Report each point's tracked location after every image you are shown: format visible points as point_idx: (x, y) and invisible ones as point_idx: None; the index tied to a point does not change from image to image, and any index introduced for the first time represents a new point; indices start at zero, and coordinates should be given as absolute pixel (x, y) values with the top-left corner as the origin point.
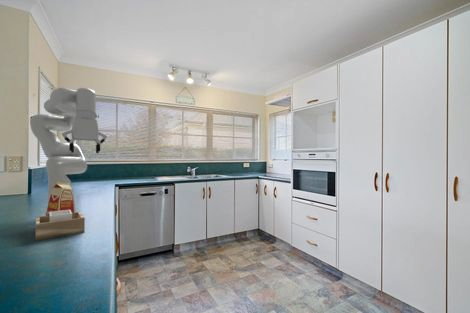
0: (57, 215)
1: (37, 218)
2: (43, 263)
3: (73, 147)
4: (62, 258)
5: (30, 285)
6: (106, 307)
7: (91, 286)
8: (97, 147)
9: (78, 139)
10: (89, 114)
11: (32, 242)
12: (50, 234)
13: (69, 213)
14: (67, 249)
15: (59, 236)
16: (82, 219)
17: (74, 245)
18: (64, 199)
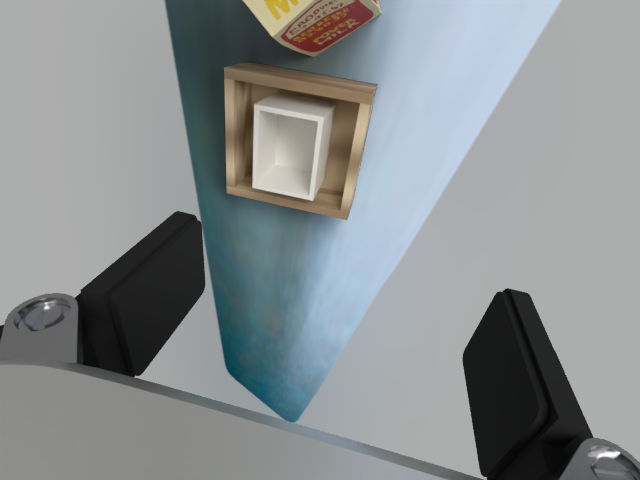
0: (272, 191)
1: (227, 99)
2: (256, 309)
3: (169, 332)
4: (280, 313)
5: (242, 352)
6: None
7: (292, 397)
8: (478, 429)
9: (122, 392)
10: None
11: None
12: None
13: (305, 196)
14: (293, 283)
15: None
16: (341, 216)
17: (308, 273)
18: (306, 26)
